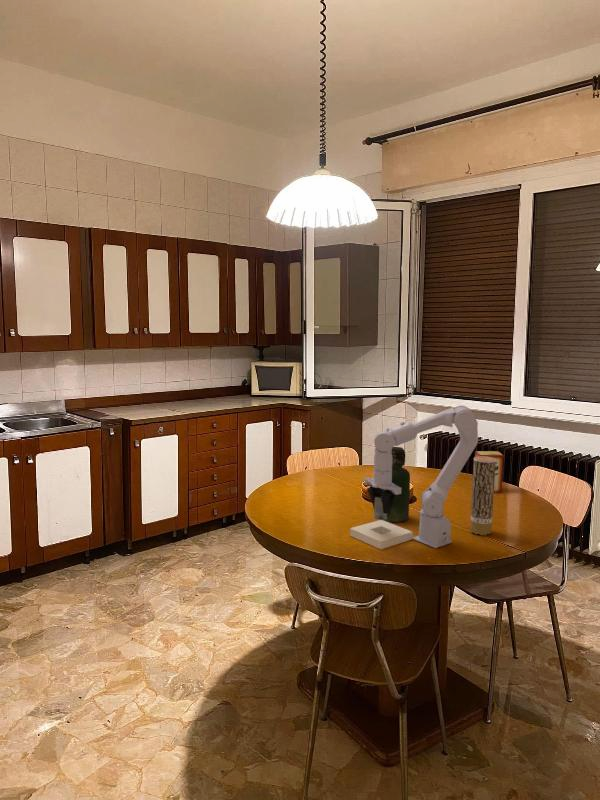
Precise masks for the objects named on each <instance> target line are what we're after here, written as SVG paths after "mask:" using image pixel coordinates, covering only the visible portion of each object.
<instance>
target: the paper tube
mask: <svg viewBox="0 0 600 800" xmlns="http://www.w3.org/2000/svg"><path fill="white" fill-rule="evenodd" d="M495 464H496V459H495V458H493V457H488V456H476V457H475V456H474V457H473V467H472V468H473V469H472V486H471V489H472V490H471V506H470V507H471V509H470V526H469V527H470V528H469V529H470V532H471V533H472V532H473V533H472V534H474V533H475V534H474V535H477V534H480V535H479V536H488V535H487V534H489V535H491V534H492V531H493V518H494V517H493V515H494V499H495V495H494V494H495V493H494V482H495ZM490 533H491V534H490Z"/></svg>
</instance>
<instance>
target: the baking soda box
mask: <svg viewBox="0 0 600 800" xmlns="http://www.w3.org/2000/svg"><path fill="white" fill-rule="evenodd" d="M476 456H488V457H493V458H495V459H496V464H495V482H494V494H502V493H503V492H502V491H503V490H502V489H503V476H504V475H503V474H504V459H505V458H504V457H505V456H504V454H503V453H501V452H500V451H496V450H495V451H493V450H491V451H490V450H488V451H487V450H486V451H483V450H482V451H481V450H480V451H477V450H475V454H474V457H476Z"/></svg>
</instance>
